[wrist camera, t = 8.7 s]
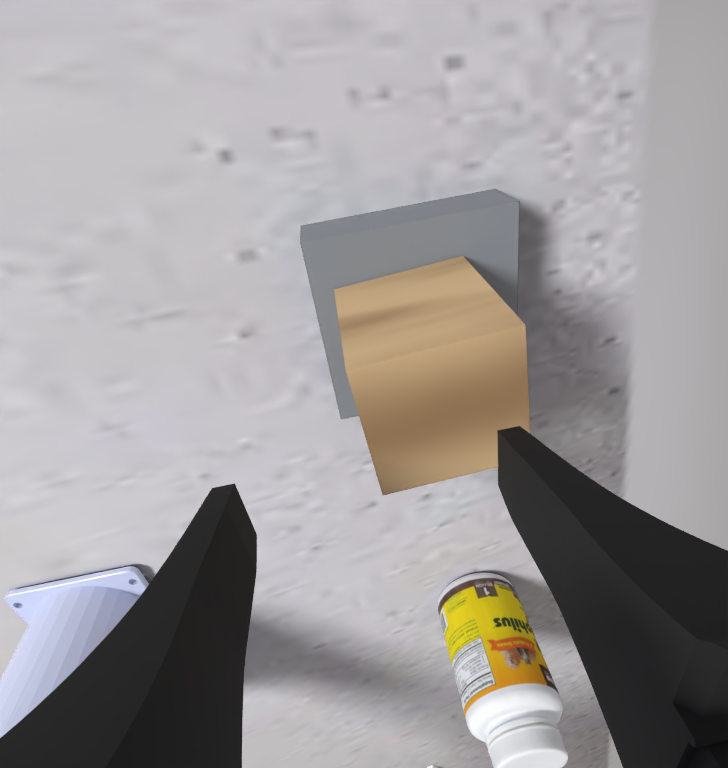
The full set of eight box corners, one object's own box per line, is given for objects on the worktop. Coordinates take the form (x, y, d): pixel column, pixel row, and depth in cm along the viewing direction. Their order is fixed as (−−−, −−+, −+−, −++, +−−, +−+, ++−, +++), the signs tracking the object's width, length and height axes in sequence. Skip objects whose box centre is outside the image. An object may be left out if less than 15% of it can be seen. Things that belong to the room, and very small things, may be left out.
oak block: (475, 366, 20) (531, 458, 15) (363, 394, 21) (382, 495, 16) (462, 255, 18) (525, 324, 13) (333, 289, 18) (345, 370, 13)
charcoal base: (493, 354, 24) (515, 385, 21) (337, 384, 24) (341, 419, 21) (491, 186, 20) (519, 201, 17) (300, 222, 20) (300, 243, 17)
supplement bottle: (528, 585, 34) (604, 755, 25) (471, 624, 36) (524, 795, 27) (476, 557, 31) (542, 734, 23) (418, 600, 33) (459, 779, 25)
